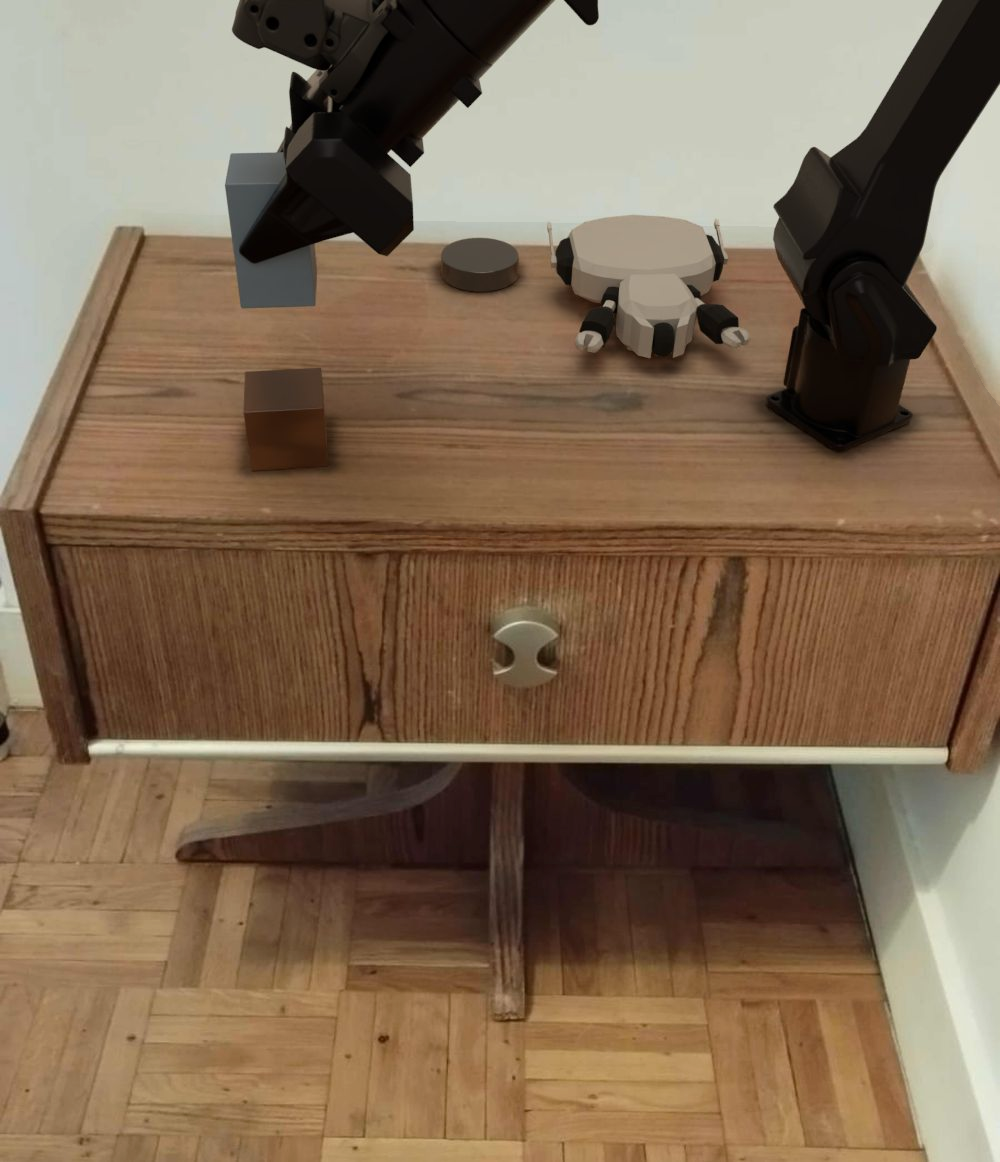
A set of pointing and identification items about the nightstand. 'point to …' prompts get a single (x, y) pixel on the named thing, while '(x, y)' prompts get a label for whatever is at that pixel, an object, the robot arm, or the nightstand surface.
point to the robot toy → (646, 283)
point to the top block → (247, 194)
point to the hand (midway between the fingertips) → (248, 238)
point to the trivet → (479, 264)
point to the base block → (285, 419)
